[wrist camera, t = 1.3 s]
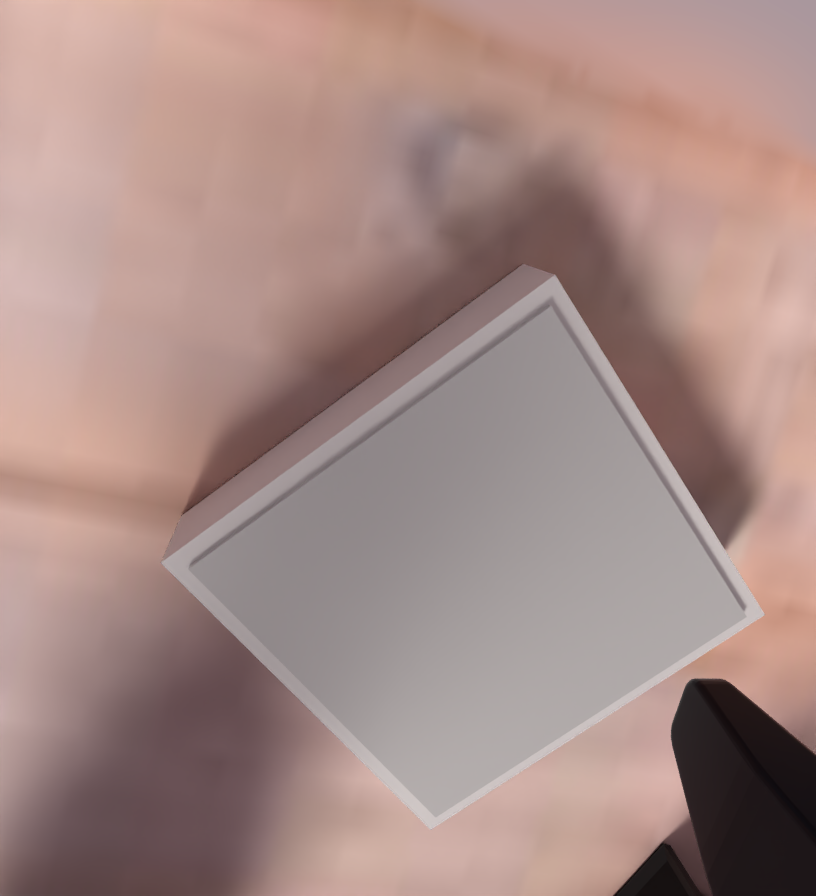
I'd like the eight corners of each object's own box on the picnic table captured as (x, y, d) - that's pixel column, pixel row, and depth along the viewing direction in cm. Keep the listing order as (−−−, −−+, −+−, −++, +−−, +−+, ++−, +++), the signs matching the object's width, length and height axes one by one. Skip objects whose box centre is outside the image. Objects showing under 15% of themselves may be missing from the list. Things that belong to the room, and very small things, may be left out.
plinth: (418, 762, 25) (431, 835, 22) (181, 516, 21) (158, 566, 18) (714, 567, 23) (768, 618, 20) (523, 263, 19) (557, 275, 16)
